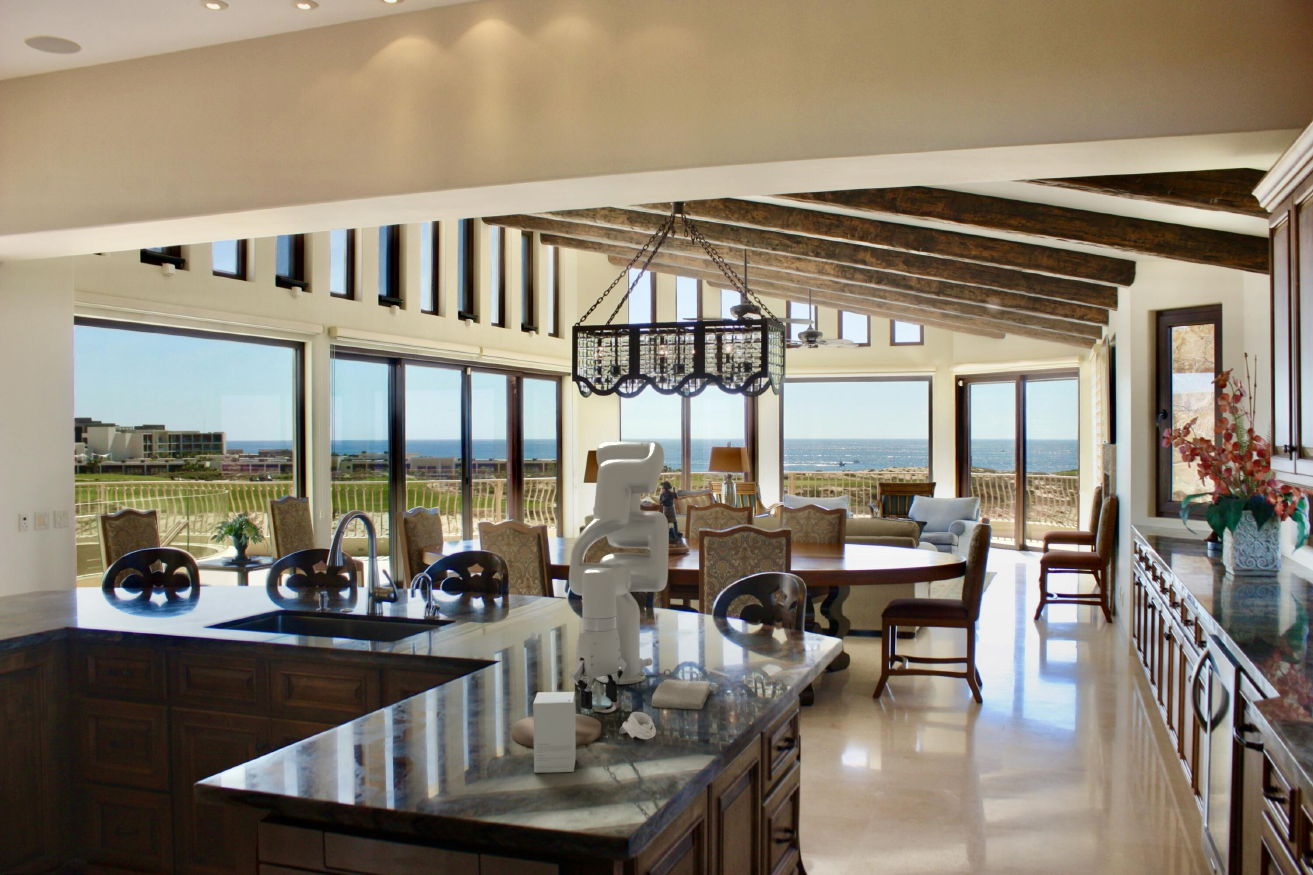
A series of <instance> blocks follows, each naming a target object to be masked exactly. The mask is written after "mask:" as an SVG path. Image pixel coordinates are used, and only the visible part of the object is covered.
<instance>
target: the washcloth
mask: <svg viewBox="0 0 1313 875" xmlns="http://www.w3.org/2000/svg"><path fill="white" fill-rule="evenodd" d="M711 685H712V682H709V681H706V680H704V681H703V680H700V681H696V680H695V681H691V680H690V681H689V680H684V679H680V678H679V679H664V680H663V681H662V682H659V684H658V686H657V687H656V689H655V691H654V692H653V694H652V697H651V698H652V699H651V701H650V702H651V707H653V708H663V709H664V708H665V709H668V708H669V709H679V710H680V709H681V710H702V709H703V708H704V706H705V705H704V704H705V703H706V701H707V697H708V696H709V694H710V692H711Z"/></svg>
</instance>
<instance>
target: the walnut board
mask: <svg viewBox="0 0 1313 875" xmlns="http://www.w3.org/2000/svg"><path fill="white" fill-rule="evenodd" d="M511 728H512V729H511V737H512V739H513V740H514V741H515V742H516V743H517V744H520V745H523V746H526V747H531V748H534V715H532V716H528V717H524V718H523V719H520V720H517V721H516V722H515V723H514V724H513V725H512V727H511ZM601 735H602V723H601V721H599V720H598V719H597V718H595V717H593V716H592V717H591V716H589V715H585V714H581V713H575V744H576V747H579V746H583V745H587V744H590V743H593V742H594V741H596V740H597V739H598V738H600V736H601Z"/></svg>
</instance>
